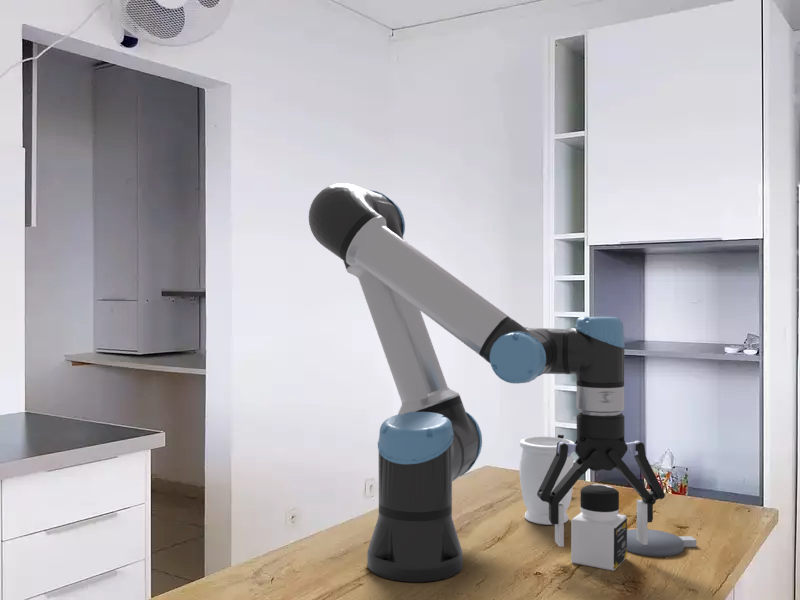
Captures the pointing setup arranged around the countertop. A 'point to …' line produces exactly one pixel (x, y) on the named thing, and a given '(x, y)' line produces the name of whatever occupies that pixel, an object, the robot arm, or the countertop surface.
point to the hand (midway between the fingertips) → (600, 543)
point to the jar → (540, 476)
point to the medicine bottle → (599, 529)
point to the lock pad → (658, 543)
